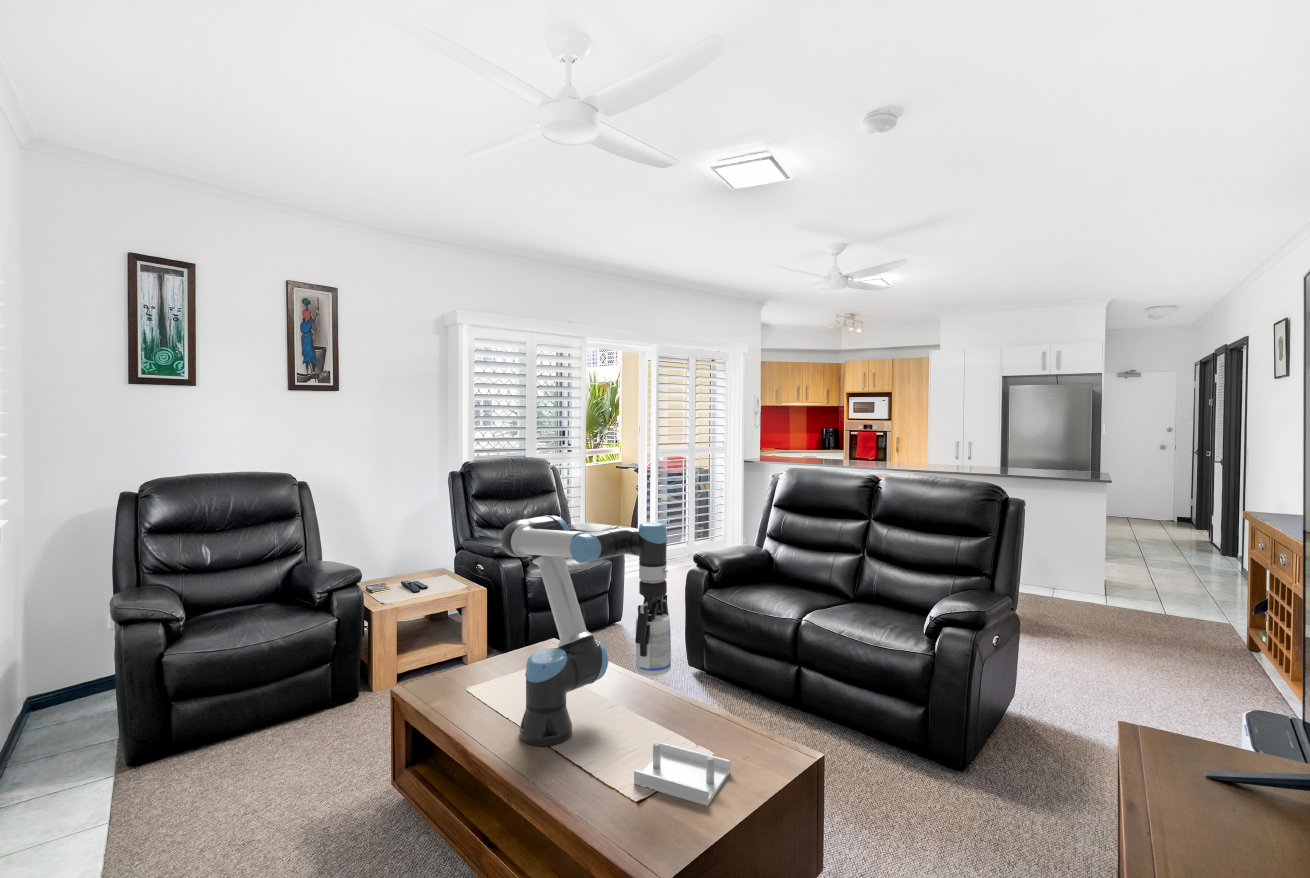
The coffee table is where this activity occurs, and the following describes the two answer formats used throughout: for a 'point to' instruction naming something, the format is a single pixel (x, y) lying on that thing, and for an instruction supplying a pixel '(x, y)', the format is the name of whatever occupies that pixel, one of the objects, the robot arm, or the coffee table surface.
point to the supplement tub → (657, 647)
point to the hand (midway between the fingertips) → (653, 660)
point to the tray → (684, 773)
